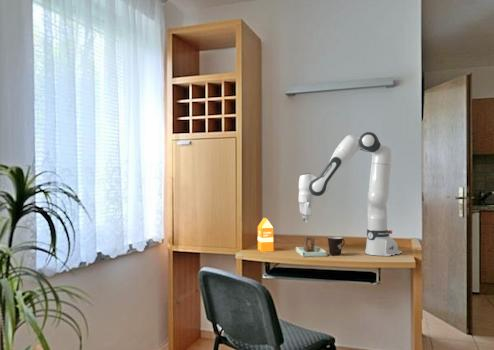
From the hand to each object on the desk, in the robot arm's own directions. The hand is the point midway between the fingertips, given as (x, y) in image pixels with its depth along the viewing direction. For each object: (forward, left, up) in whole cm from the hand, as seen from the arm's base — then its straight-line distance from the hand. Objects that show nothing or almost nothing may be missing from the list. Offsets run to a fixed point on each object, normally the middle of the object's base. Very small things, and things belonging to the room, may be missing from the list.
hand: (305, 221), depth 264 cm
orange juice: (+22, -12, -18) cm, 31 cm away
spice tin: (+3, +8, -17) cm, 19 cm away
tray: (+5, +11, -18) cm, 21 cm away
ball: (+4, +8, -15) cm, 17 cm away
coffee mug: (-6, +22, -18) cm, 29 cm away
